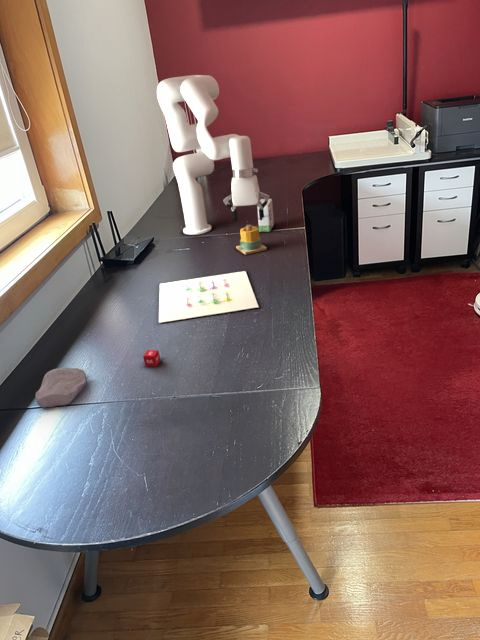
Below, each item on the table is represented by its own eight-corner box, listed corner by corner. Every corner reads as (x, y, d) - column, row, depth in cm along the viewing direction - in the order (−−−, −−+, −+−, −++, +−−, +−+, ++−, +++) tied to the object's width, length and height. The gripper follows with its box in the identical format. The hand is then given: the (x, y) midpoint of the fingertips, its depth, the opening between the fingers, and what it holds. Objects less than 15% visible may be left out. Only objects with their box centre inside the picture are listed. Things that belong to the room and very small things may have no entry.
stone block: (90, 382, 128) (49, 380, 127) (89, 366, 126) (47, 364, 125) (80, 412, 118) (35, 410, 117) (78, 396, 116) (32, 394, 115)
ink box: (262, 225, 222) (260, 198, 215) (274, 225, 220) (272, 198, 214) (258, 232, 214) (256, 204, 208) (270, 231, 213) (268, 203, 207)
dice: (156, 366, 129) (154, 356, 127) (145, 366, 129) (142, 356, 128) (160, 360, 131) (158, 350, 130) (149, 359, 132) (147, 350, 130)
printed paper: (258, 308, 152) (258, 303, 151) (158, 323, 149) (157, 319, 148) (245, 271, 178) (245, 267, 177) (160, 284, 175) (159, 280, 174)
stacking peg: (236, 248, 199) (233, 225, 194) (256, 243, 202) (254, 220, 197) (245, 255, 192) (242, 230, 187) (266, 249, 195) (264, 225, 190)
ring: (240, 242, 193) (239, 232, 191) (242, 236, 198) (241, 226, 196) (258, 241, 192) (257, 231, 190) (260, 235, 197) (259, 225, 195)
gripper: (268, 169, 184) (272, 215, 193) (221, 173, 187) (228, 218, 195) (266, 173, 178) (270, 221, 187) (218, 177, 180) (224, 224, 189)
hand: (248, 220), depth 191 cm, fingers open, 9 cm apart
